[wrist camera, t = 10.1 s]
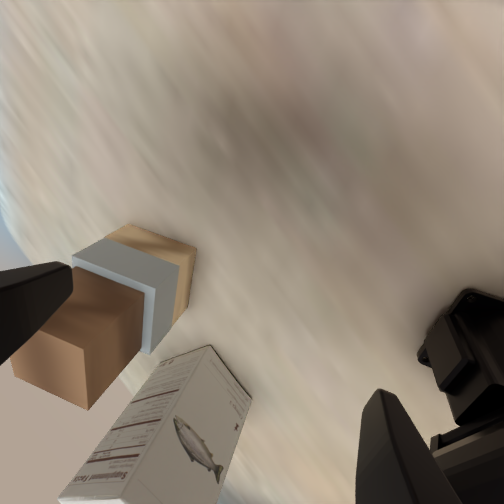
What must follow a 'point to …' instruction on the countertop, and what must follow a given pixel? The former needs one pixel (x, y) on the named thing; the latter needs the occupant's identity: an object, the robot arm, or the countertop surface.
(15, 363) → the walnut cube
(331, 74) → the countertop surface
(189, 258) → the tower base
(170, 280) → the tower mid
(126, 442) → the supplement box
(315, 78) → the countertop surface
